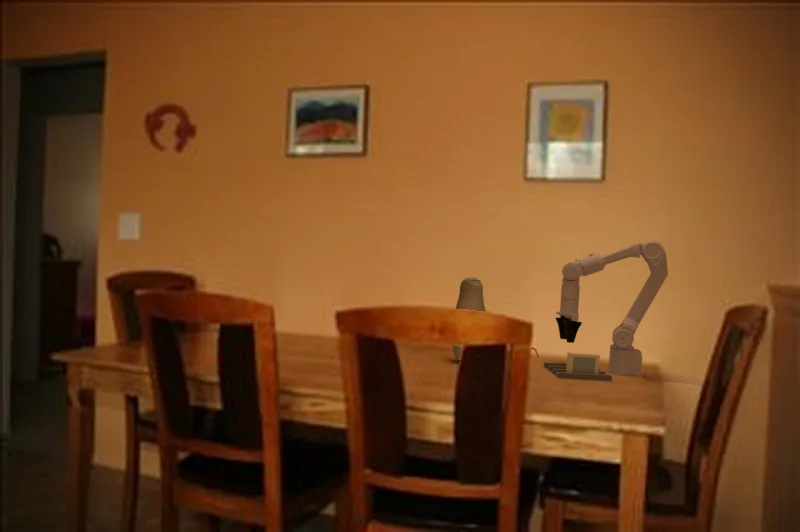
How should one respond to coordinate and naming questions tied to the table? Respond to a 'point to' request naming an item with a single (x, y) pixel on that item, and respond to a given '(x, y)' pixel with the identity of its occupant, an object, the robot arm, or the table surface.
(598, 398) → the table surface
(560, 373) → the ridged panel
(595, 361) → the picture frame
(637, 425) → the table surface
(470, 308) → the grey tall rounded piece
